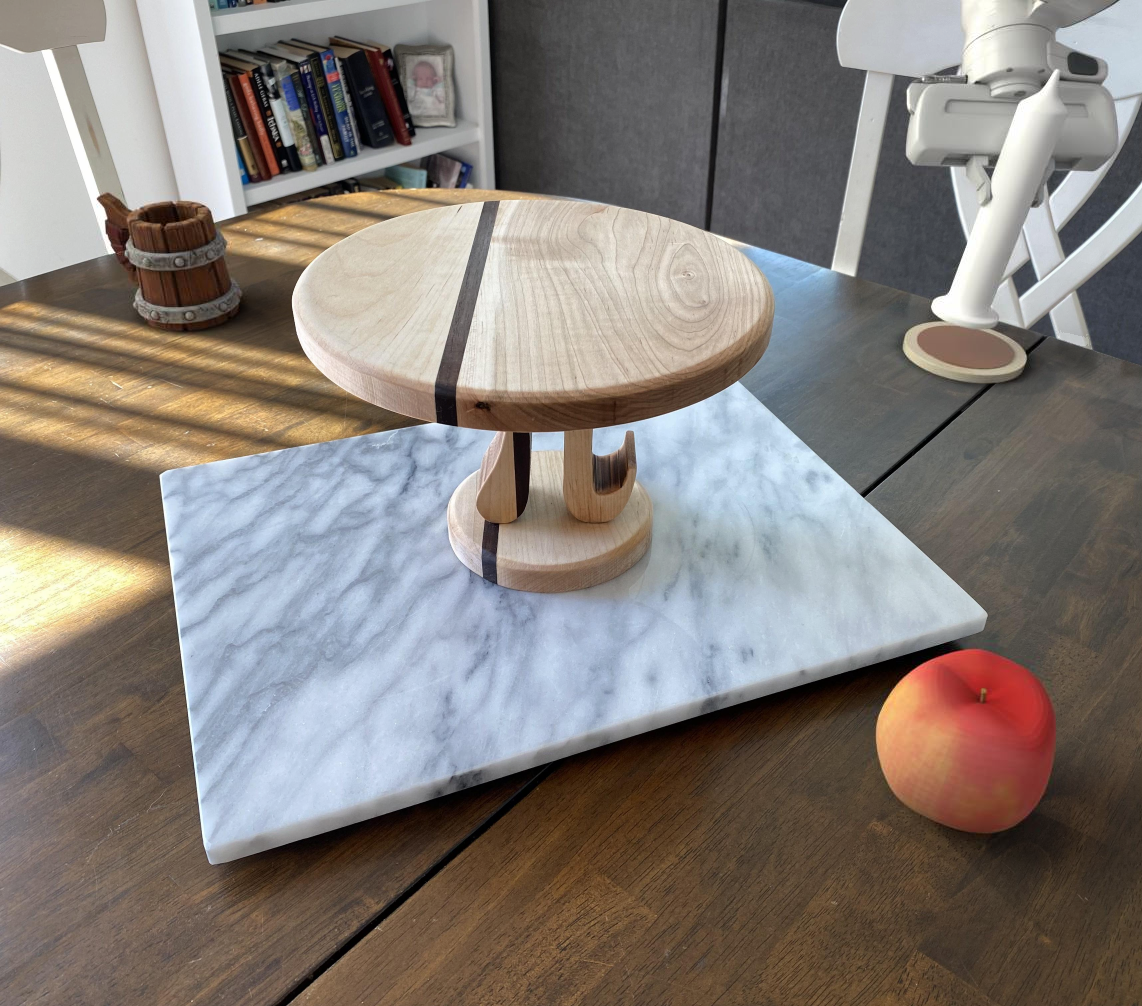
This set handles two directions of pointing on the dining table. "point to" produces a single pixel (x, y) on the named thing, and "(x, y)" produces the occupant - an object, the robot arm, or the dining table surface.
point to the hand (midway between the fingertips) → (1011, 204)
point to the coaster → (964, 352)
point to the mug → (173, 262)
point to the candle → (1004, 210)
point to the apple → (968, 741)
